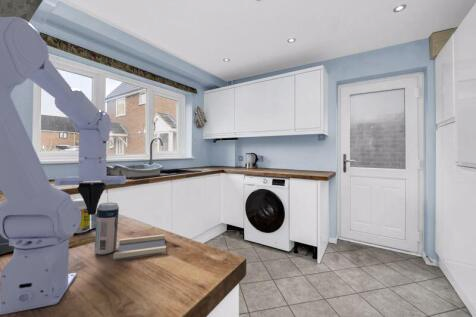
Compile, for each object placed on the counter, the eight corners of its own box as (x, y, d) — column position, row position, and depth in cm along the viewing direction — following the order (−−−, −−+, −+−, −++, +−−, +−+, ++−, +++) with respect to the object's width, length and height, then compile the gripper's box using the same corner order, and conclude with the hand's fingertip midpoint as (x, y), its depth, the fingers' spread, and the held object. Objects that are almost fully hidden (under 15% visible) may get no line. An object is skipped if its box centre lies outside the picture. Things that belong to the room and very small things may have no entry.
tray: (166, 253, 54) (166, 247, 54) (113, 260, 50) (113, 254, 50) (164, 239, 63) (164, 234, 63) (119, 244, 59) (119, 239, 59)
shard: (101, 240, 63) (102, 234, 63) (87, 251, 56) (87, 244, 56) (61, 241, 62) (61, 235, 62) (41, 253, 54) (41, 246, 54)
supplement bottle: (85, 233, 67) (85, 201, 67) (65, 234, 66) (65, 201, 66) (93, 228, 73) (93, 197, 73) (74, 229, 71) (74, 198, 72)
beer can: (120, 251, 55) (123, 204, 55) (100, 257, 51) (103, 206, 51) (109, 246, 58) (112, 201, 58) (90, 252, 53) (93, 204, 54)
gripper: (127, 159, 60) (126, 208, 60) (63, 158, 54) (62, 212, 54) (124, 159, 53) (123, 214, 53) (50, 158, 48) (50, 219, 48)
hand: (92, 213), depth 53 cm, fingers closed
